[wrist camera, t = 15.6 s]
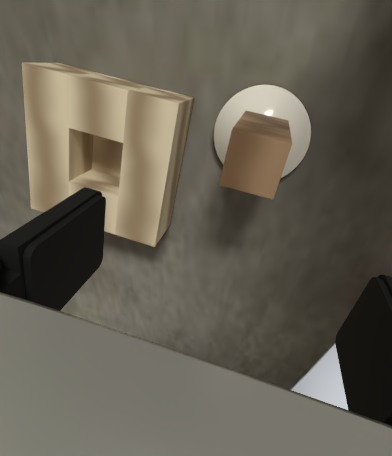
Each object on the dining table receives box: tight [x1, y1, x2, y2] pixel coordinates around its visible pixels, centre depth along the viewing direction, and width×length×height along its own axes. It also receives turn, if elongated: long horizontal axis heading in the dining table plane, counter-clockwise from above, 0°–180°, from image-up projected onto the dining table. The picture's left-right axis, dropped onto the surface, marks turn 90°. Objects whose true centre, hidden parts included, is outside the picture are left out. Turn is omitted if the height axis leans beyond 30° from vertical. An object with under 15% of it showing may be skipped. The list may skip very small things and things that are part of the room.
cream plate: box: [214, 85, 311, 178], centre depth 33 cm, size 10×10×1 cm
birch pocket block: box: [22, 63, 194, 247], centre depth 36 cm, size 16×16×6 cm
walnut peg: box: [219, 111, 292, 199], centre depth 28 cm, size 4×4×11 cm
